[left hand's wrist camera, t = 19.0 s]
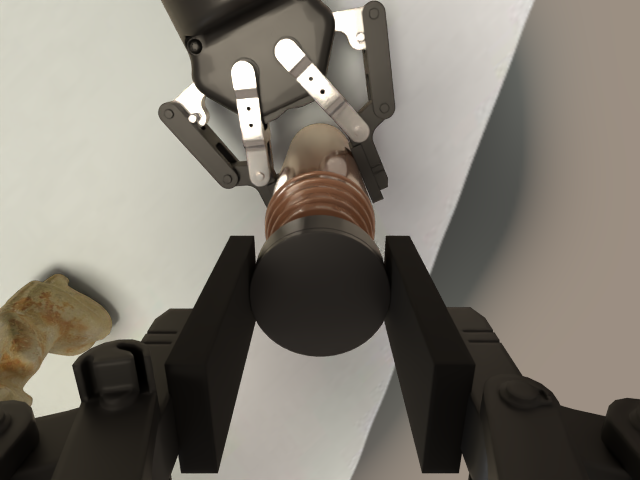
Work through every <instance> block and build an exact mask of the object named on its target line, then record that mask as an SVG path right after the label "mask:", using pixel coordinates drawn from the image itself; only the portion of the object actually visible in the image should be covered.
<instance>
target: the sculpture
mask: <svg viewBox="0 0 640 480" xmlns="http://www.w3.org/2000/svg"><path fill="white" fill-rule="evenodd" d="M68 283H69V279H68V278H67V277H65V276H64V275H61V274H55V275H53V276H51V277H49V278H48V279H46V280H45V281H44V282H40V281H31V282H29V283H28V284H26V285H25V286H24V287H22V288H21V289H20V290H18V291H17V292H16V293H15V294H14V295H13V296H12V297H11V298H10V299H9V300H8V301H7V302H6V304H5V305H4V306H3V307H1V308H0V401H8V400H17V401H22V402H26V403H27V404H28V405H29V406H30V407H31V405H32V401H33V399H32V397H31V396H29V395H28V394H27V393H25V392H24V391H23V387H24V385H25V384H26V383H27V381H28V380H29V379H30V378H31V377H32V376H33V375H34V374H35V373H36V372H37V371H38V369H39V368H40V366H41V363H42V362H43V360H44V358H45V357H46V355H47V354H48V353H53V354H58V355H66V356H74V355H78V354H81V353H83V352H85V351H87V350H88V349H90V348H91V347H92V346H93V344H94V343H95V342H96V341H97V340H101V339H103V338H105V337H106V336H107V335H108V334H109V333H110V331H111V328H112V320H111V317H110V315H109V314H108V312H107V311H106V310H105V309H104V308H103V307H102V306H101V305H100V304H98V303H97V302H96V301H94V300H92V299H91V298H89V297H88V296H86V295H84V294H81V293H79V292H78V291H76V290H74V289H72V288H71V287H69V286H68Z"/></svg>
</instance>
